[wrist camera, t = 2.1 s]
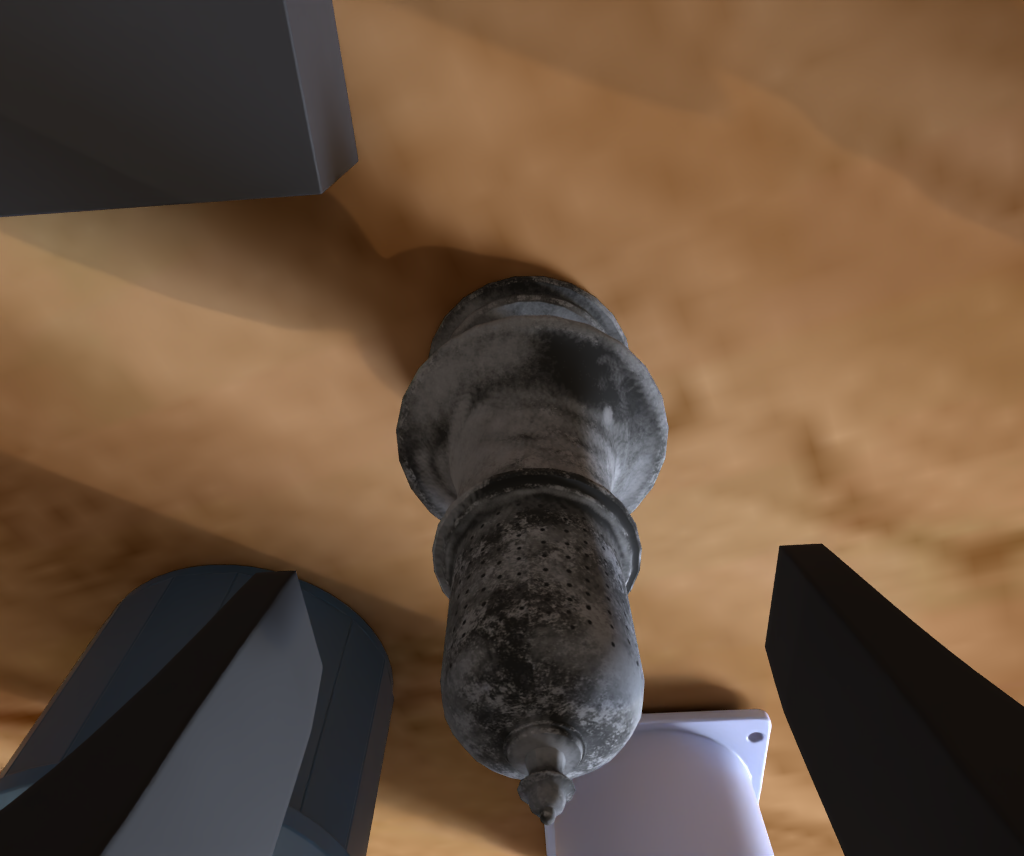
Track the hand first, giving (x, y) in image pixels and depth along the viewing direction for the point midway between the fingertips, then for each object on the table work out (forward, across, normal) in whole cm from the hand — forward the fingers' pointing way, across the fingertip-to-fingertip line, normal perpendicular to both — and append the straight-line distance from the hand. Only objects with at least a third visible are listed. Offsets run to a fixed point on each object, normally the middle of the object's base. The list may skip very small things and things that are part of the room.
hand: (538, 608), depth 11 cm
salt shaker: (+9, 0, 0) cm, 9 cm away
